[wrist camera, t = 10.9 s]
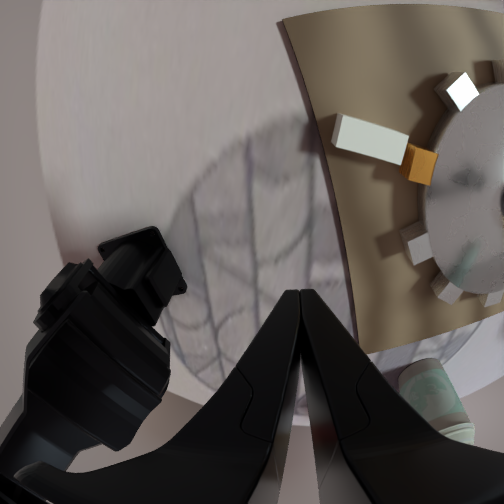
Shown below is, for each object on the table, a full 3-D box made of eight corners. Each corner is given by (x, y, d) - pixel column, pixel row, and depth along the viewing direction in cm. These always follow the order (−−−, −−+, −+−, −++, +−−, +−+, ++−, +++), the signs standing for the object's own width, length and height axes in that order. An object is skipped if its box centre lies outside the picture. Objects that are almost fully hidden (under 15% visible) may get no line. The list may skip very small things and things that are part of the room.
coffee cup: (455, 342, 27) (489, 428, 17) (444, 381, 31) (466, 455, 21) (388, 362, 29) (409, 458, 19) (386, 398, 33) (400, 478, 23)
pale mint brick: (331, 141, 18) (335, 147, 16) (337, 112, 17) (343, 115, 15) (391, 158, 18) (400, 165, 16) (398, 131, 17) (409, 136, 15)
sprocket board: (359, 352, 28) (360, 355, 28) (282, 20, 14) (282, 19, 14) (560, 281, 21) (562, 283, 21) (566, 33, 7) (568, 33, 7)
